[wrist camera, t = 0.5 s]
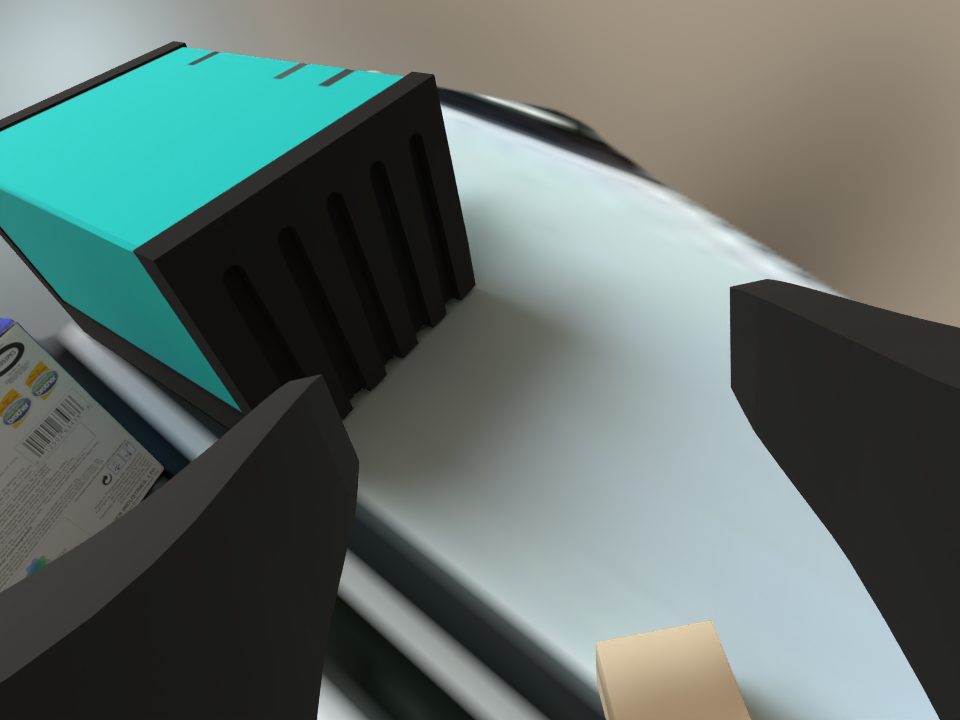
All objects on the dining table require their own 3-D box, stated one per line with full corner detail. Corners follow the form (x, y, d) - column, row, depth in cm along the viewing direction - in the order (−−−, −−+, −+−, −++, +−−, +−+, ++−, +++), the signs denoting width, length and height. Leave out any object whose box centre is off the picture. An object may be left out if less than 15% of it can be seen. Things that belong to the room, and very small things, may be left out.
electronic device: (532, 236, 45) (510, 24, 34) (297, 477, 33) (147, 264, 22) (315, 176, 57) (249, 7, 47) (86, 334, 45) (-76, 154, 34)
